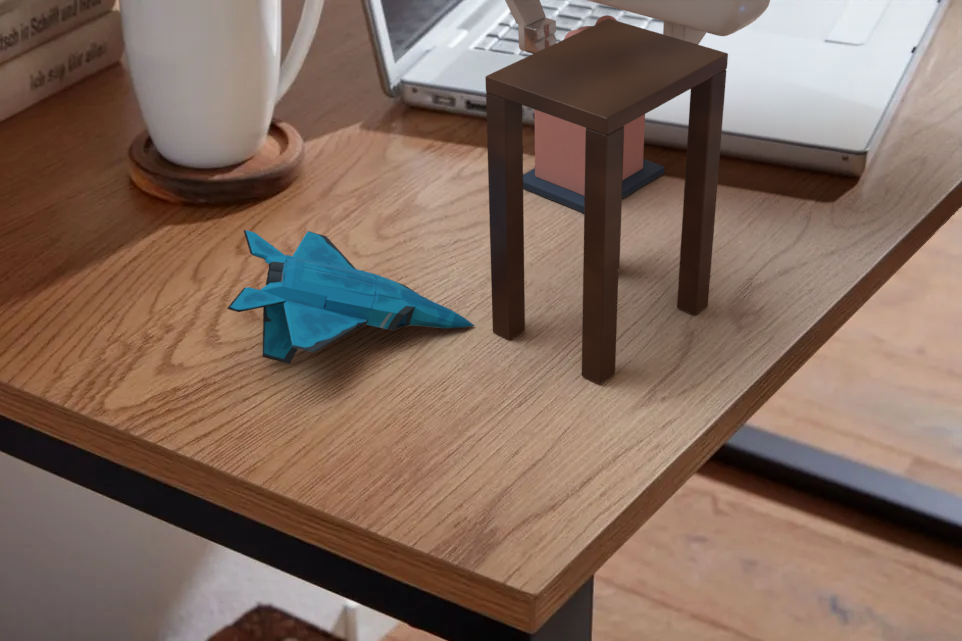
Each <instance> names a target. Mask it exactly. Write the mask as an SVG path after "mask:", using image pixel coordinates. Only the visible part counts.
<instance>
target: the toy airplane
mask: <svg viewBox="0 0 962 641" xmlns="http://www.w3.org/2000/svg"><path fill="white" fill-rule="evenodd" d="M242 231H243V233H244V237H245V240H246V244H247V247H248V250H249V253H250V255H252V256H253V257H255V258H259V259H262V260H264V263H265V264H268V270H267V276H266V281H265V285H264V286H263V287H261V288H260V289H257V288H253V287H249V286H246V287H243V288H242V289H241V291H240V292H239V293H238V294H237V295H236V296H235V298H234V299H233V300H232V302H231V303H230V304H229V305H228V306H227V307H226V309H228V310H229V311H233V312H237V313H243V312H247V311H251V310H257V309H262V310H263V312H262V315H263V316H262V358H265V359H269V360H272V361H275V362H280V363H285V364H288V365H289V364H290V363H291V362H292V360H293V359H294V356H295V355H296V353H297V352H298V350H300V351H305V352H309V353H312V354H314V353H317V352H318V351H320V350H322V349H323V348H325V347H327V346H328V345H330V344H332V343H334V342H336V341H337V340H339V339H341V338H343V337H345V336H347V335H349V334H351V333H352V332H355V331H357V330H358V329H360V328H363V327H364V326H371V327H374V328H380V329H385V330H389V331H394V332H395V331H397V330H401V329H403V328H406V327H409V326H415V327H427V328H434V329H435V328H436V329H462V328H463V329H464V328H471V327H475V324H473V323H472V322H470V321H469V320H468V319H467V318H465V317H464V316H463V315H460V314H459V313H457V312H456V311H454V310H452V309H451V308H448V307H447V306H443V305H442V304H439V303H437V302H435V301H433V300H431V299H429V298H428V297H427V298H426V297H425V296H423V295H421V294H420V293H418V292H417V291H415V290H413V289H411V288H410V287H409V286H407V285H405V284H403V283H400V282H398V281H395V280H392V279H390V278H387V277H384V276H382V275H379V274H376V273H372V272H368V271H365V270H360V269H357V268H356V267H355V266H354V265H353V264H352V262H350V261H349V259H348V258H347V257H346V256H345V255H344V254H343V253H342V251H341V250H340V249H338V247H337V246H336V245H335V244H334V243H333V242H332V240H331V239H330V238H329V237H328V236H327V235H323V234H320V233H316V232H313V231H309V230H307V232H306V233H305V234H304V236H303V238H302V240H301V241H300V243H299V244H298V246H297V248H296V249H295V251H294V253H293V254H292V255H289V254H285V253H283V252H282V251H280V250H279V249H278V248H276V247H275V246H273V244H271V243H270V242H268V241H267V240H266V239H265V238H263V237H261V236H260V235H259V234H258V233H256V232H254V231H251V230H248V229H247V230H246V229H243V230H242Z"/></svg>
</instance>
